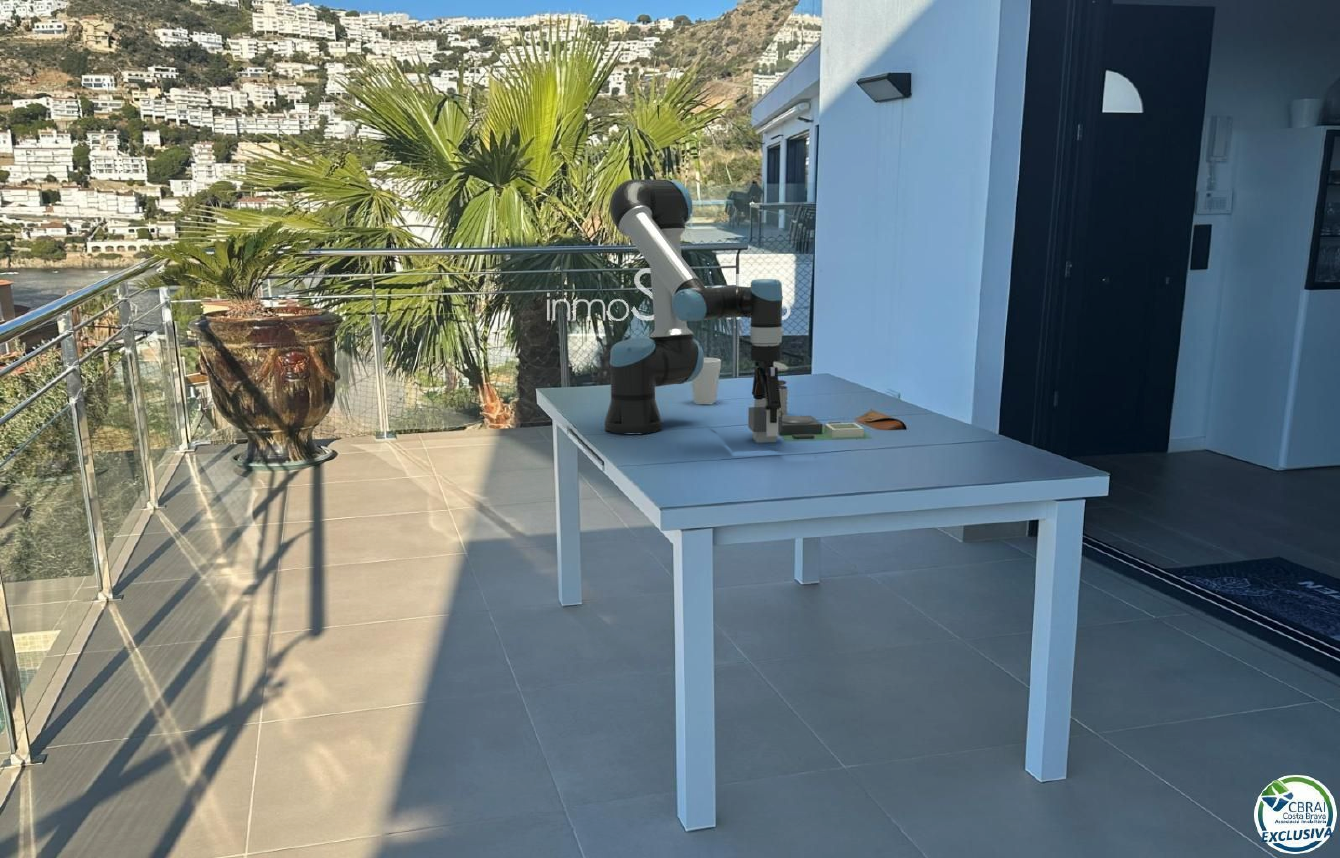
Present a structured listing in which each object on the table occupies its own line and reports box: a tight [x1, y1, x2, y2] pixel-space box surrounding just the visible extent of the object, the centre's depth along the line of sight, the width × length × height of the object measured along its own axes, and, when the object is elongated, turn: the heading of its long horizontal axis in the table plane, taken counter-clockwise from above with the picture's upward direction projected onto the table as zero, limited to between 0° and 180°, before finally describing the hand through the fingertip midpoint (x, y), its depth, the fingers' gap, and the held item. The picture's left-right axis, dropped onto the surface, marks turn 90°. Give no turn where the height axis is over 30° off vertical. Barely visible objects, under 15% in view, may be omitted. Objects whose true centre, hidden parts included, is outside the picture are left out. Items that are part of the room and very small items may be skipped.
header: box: [824, 422, 865, 438], centre depth 258 cm, size 8×7×2 cm
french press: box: [765, 361, 789, 416], centre depth 286 cm, size 10×12×25 cm
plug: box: [747, 406, 783, 444], centre depth 252 cm, size 7×6×9 cm
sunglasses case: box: [854, 408, 907, 431], centre depth 271 cm, size 18×7×7 cm, turn 18°
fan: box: [778, 415, 824, 436], centre depth 264 cm, size 11×11×3 cm
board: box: [779, 421, 873, 442], centre depth 261 cm, size 22×18×3 cm
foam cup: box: [691, 357, 722, 405], centre depth 307 cm, size 10×9×13 cm
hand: (765, 430), depth 252 cm, fingers open, 13 cm apart
